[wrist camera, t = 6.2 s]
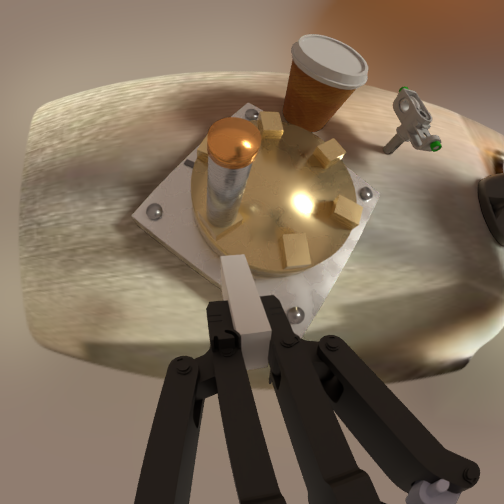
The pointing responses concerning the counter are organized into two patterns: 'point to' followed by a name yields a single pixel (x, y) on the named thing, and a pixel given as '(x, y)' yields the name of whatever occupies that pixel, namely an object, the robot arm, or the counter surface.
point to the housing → (208, 261)
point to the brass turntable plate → (272, 194)
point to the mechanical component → (412, 123)
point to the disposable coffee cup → (321, 80)
